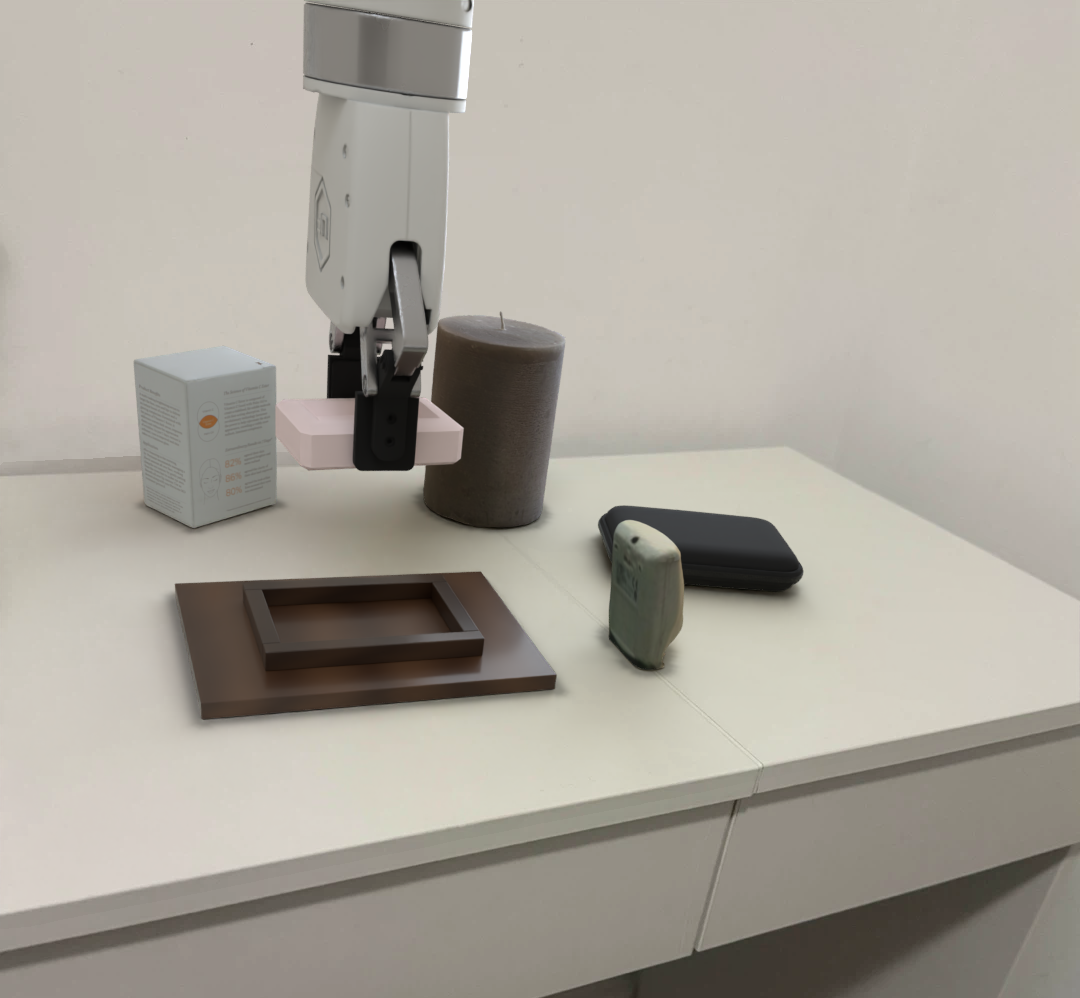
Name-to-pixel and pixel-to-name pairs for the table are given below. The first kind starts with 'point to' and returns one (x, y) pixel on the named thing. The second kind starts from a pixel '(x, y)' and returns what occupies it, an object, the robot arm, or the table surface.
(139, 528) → the table surface
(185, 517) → the small box
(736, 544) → the carrying case
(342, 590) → the backing plate
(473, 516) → the pillar candle
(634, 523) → the grey-green rounded block
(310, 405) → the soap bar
